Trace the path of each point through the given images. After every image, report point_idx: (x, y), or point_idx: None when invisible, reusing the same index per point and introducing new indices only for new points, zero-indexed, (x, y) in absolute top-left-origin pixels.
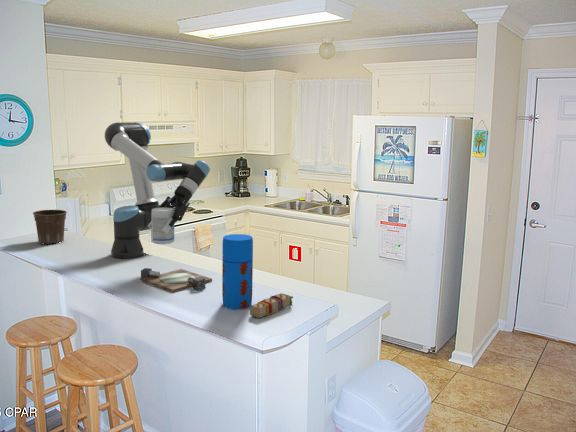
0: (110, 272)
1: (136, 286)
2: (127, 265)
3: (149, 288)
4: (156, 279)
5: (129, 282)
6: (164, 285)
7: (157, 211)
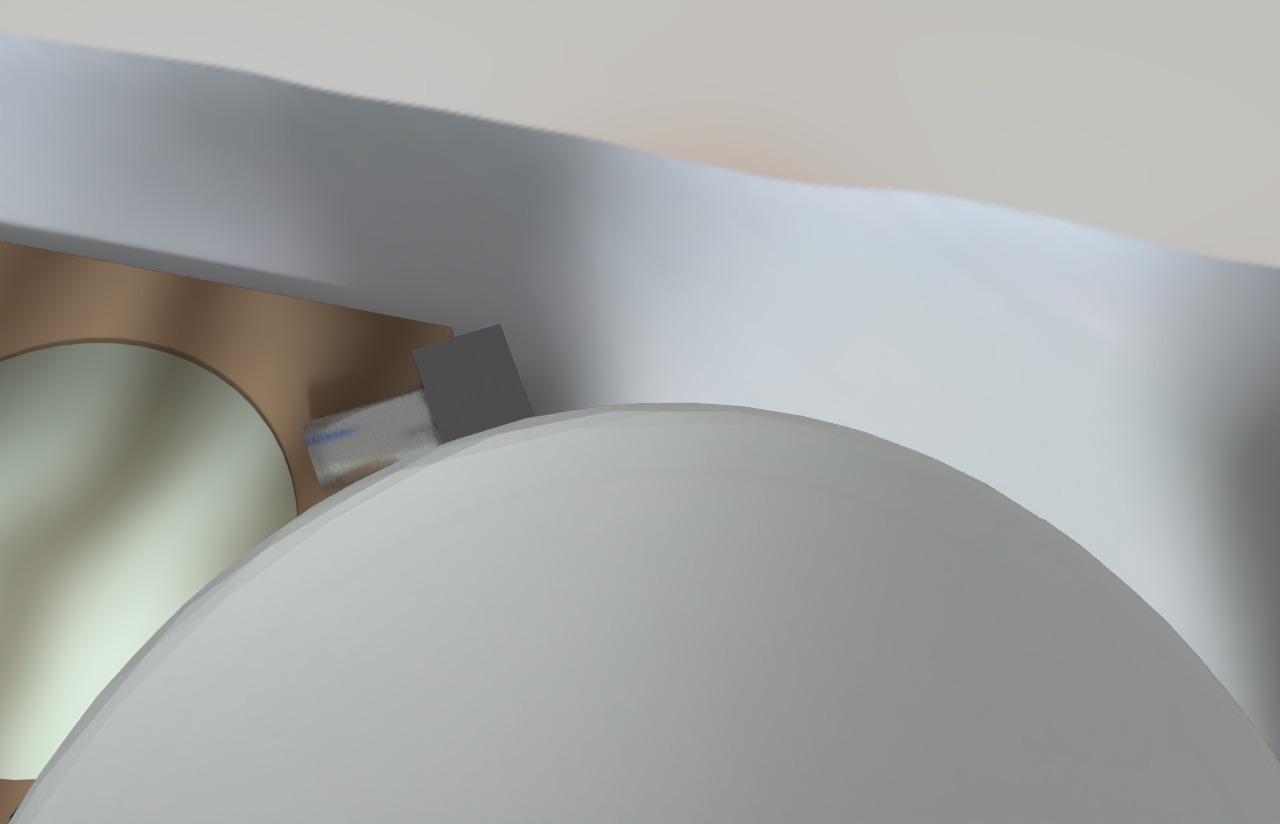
0: (984, 398)
1: (391, 204)
2: None
3: (229, 221)
4: (287, 387)
5: (547, 258)
6: (63, 276)
7: (516, 424)
